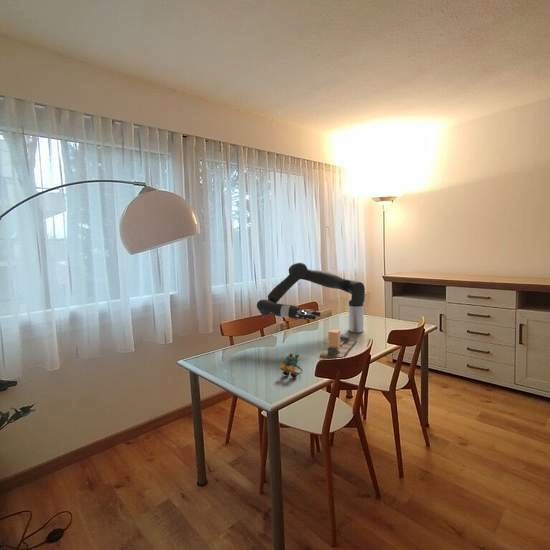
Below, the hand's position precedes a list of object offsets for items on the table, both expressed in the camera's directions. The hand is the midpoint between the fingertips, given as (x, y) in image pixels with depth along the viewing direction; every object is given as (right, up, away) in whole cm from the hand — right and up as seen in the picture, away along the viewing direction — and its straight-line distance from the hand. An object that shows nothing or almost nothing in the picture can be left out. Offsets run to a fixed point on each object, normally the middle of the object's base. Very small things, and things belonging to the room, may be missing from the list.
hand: (317, 315), depth 176 cm
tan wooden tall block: (+9, -18, -1) cm, 20 cm away
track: (+13, -20, +6) cm, 24 cm away
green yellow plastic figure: (-16, -25, -26) cm, 40 cm away
